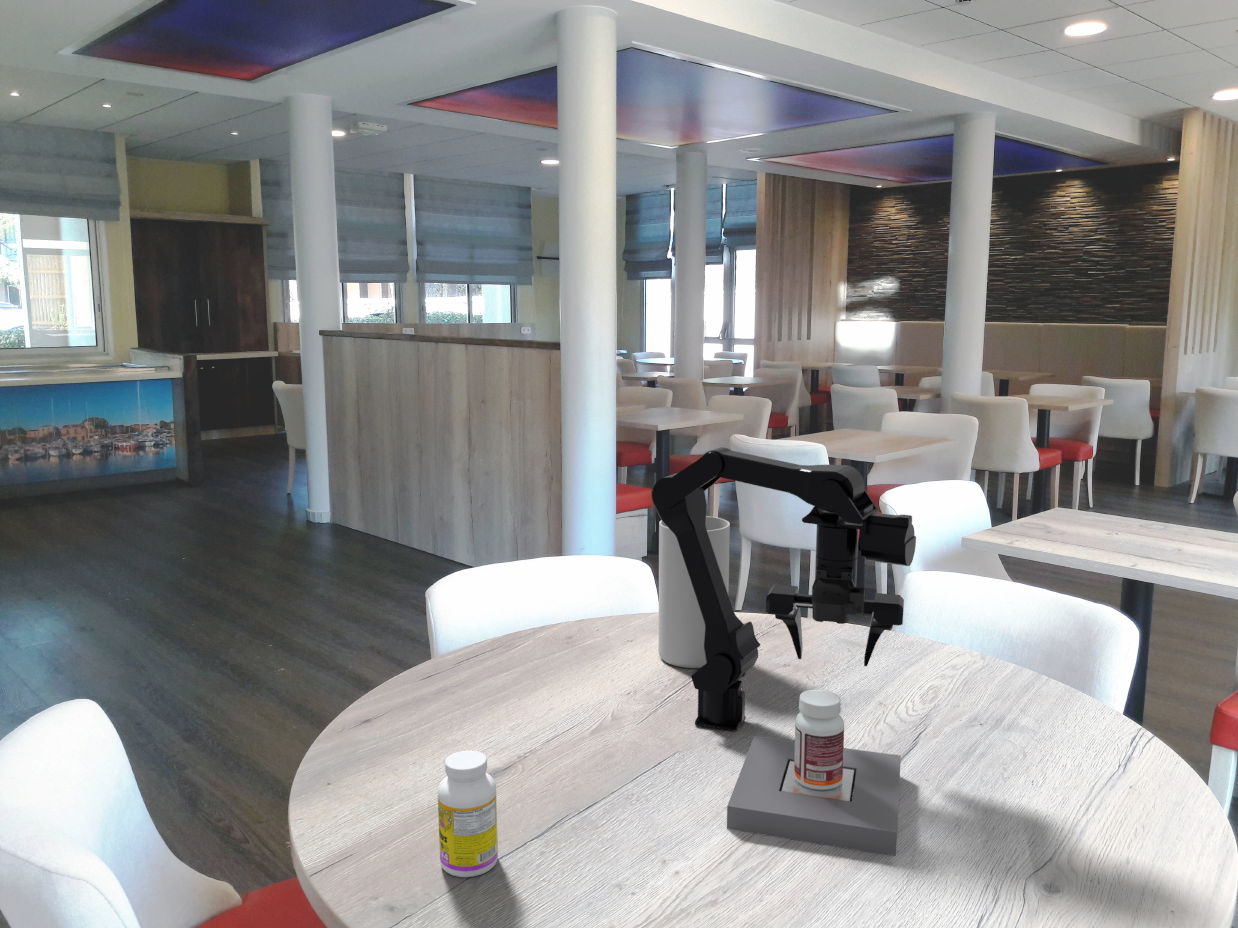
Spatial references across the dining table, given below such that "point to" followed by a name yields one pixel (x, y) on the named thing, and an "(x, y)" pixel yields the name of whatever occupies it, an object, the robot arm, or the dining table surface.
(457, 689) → the dining table surface
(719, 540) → the cylinder vase
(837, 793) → the plunger pad
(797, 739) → the pill bottle
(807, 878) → the dining table surface
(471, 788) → the supplement bottle
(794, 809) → the plate
